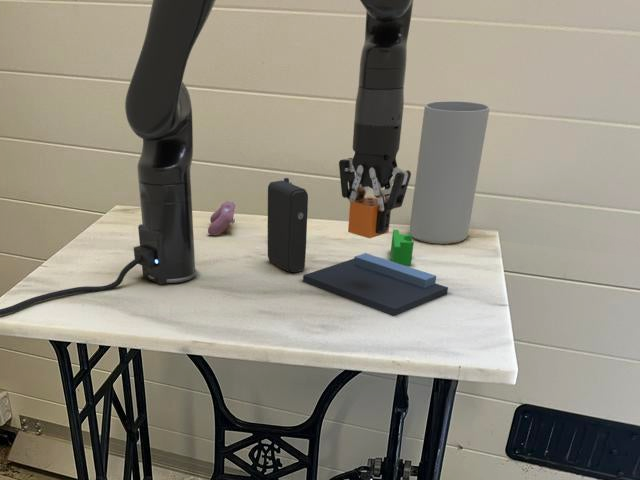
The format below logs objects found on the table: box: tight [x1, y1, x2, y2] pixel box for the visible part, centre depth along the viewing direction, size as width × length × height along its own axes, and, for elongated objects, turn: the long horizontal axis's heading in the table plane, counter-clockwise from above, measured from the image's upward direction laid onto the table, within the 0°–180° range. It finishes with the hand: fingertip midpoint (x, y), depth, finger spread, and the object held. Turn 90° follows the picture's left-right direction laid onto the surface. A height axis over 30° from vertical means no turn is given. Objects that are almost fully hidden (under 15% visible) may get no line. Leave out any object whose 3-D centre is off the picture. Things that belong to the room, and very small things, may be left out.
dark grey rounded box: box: [267, 180, 309, 273], centre depth 139 cm, size 9×4×15 cm, turn 31°
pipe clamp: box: [390, 229, 414, 267], centre depth 145 cm, size 11×4×5 cm, turn 173°
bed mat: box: [302, 252, 449, 316], centre depth 133 cm, size 15×22×3 cm
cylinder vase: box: [408, 100, 491, 245], centre depth 151 cm, size 12×12×25 cm
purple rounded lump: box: [207, 200, 236, 236], centre depth 161 cm, size 10×5×7 cm, turn 179°
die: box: [347, 196, 392, 239], centre depth 125 cm, size 5×5×5 cm
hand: (368, 228), depth 126 cm, fingers closed on die, 5 cm apart
